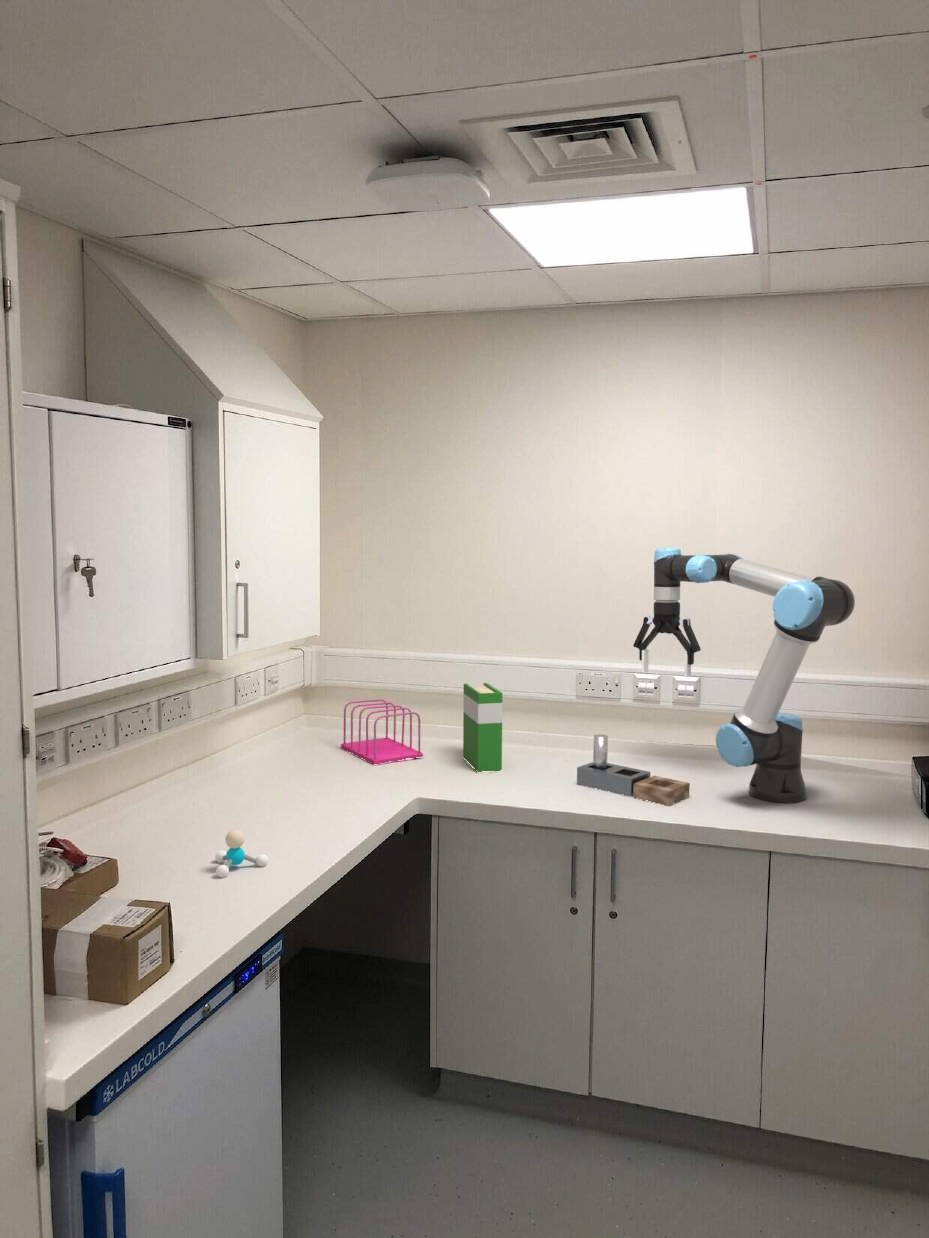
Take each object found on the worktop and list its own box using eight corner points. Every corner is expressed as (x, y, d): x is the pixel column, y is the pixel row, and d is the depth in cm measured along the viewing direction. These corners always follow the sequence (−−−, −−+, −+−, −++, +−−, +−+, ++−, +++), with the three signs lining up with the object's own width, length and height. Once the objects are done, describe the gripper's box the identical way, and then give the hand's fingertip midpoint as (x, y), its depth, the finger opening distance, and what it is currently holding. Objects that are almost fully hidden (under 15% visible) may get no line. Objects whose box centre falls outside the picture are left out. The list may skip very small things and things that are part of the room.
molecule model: (231, 883, 204) (230, 843, 203) (191, 872, 210) (190, 832, 209) (270, 866, 214) (270, 827, 213) (231, 855, 220) (231, 817, 219)
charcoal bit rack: (649, 789, 274) (650, 771, 274) (631, 796, 267) (631, 779, 266) (596, 777, 286) (596, 760, 286) (576, 784, 279) (577, 767, 278)
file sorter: (387, 742, 328) (387, 696, 327) (423, 758, 307) (423, 709, 305) (340, 748, 319) (340, 701, 318) (373, 765, 298) (373, 715, 296)
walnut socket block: (689, 797, 267) (689, 782, 266) (668, 806, 259) (669, 791, 258) (654, 789, 274) (654, 775, 274) (633, 797, 266) (633, 783, 265)
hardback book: (463, 758, 307) (463, 683, 304) (485, 757, 309) (486, 682, 306) (477, 773, 290) (478, 693, 287) (501, 771, 292) (502, 692, 289)
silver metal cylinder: (609, 783, 280) (610, 736, 278) (601, 786, 277) (602, 738, 275) (597, 781, 282) (598, 733, 281) (590, 783, 279) (591, 736, 278)
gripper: (712, 602, 277) (711, 675, 279) (634, 598, 292) (634, 668, 294) (701, 603, 271) (700, 679, 273) (622, 600, 287) (621, 671, 288)
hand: (666, 673), depth 284 cm, fingers open, 13 cm apart
